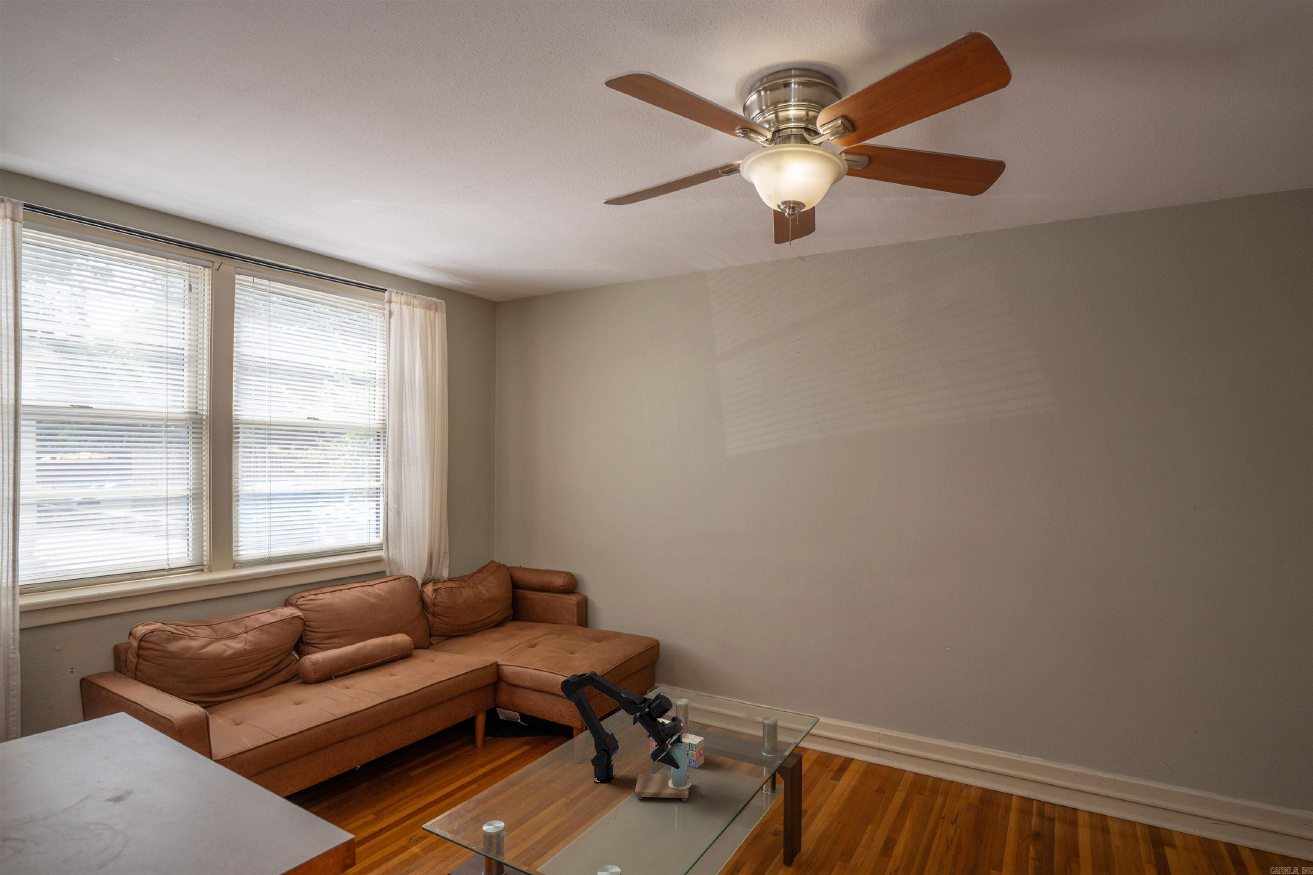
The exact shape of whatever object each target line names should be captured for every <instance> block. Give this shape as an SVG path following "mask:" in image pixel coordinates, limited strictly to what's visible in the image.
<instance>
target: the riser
mask: <svg viewBox="0 0 1313 875" xmlns="http://www.w3.org/2000/svg"><path fill="white" fill-rule="evenodd" d="M687 779H688V783H687V785H686V786H683V787H676V786H673V785H672V784H671V774H659V773H658V774H653V773H649V774H647V773H639V774H638V776H637V780H636V785H635V790H634V798H635V797H636V799H637V800H639V801H640V800H643V799H644V798H645V797H646V798H673V799H674V798H675V799H677V798H678V799H681V801H682V802H685V801H687V800H688V798H689V790H690V788H691V786H692V781H691V779H690V775H689V774H687Z"/></svg>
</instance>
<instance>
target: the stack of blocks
mask: <svg viewBox="0 0 1313 875" xmlns="http://www.w3.org/2000/svg"><path fill="white" fill-rule="evenodd" d="M658 720H659V721H660V722H662V721H664V722H665V723H666V724H667V723H669V722H670V721H671V720H667V719H663V718H661V719H658ZM681 725H682V727H683V728H682V731H681V732H683V733H682V741H683V744H685V745H686V746H687V753H688V756H687V767H690V768H693V769H698V768H699V767H700V766H702V764H703V763H705V738H704V737H702V736H697V735H694V734H691V733H687V732H685V731H684V730H685V729H684V728H685V726H684V724H682V723H681ZM681 732H680V733H681ZM680 733H679V734H680ZM648 739H649V740H648V742H649V744H648V745H649V755H651V753H652V751H653V750H654V749H655V748H656V746H655V745H656V744H657V743H656V742H655V741H654V740H653V739H652V737H650V738H648ZM670 743H671V742H669V744H670ZM669 744H668V747H669V748H671V746H670V745H669ZM669 748H668V749H669Z"/></svg>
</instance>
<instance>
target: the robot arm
mask: <svg viewBox="0 0 1313 875" xmlns="http://www.w3.org/2000/svg"><path fill="white" fill-rule="evenodd" d="M586 687H591V688H592V689H593V690H595V691H598V692H599V693H601V694H602V695H604V696H606V697H607V698H609V699H611V700H613V701H615V703H617V704H618V706H619V707H620V709H621V710H622V711H624V712H625V713H626V714H628V715H629V716H632V719H633V720H632V725H633V726H635V725H636V724H637V723H639V725H640V726H641V727H642V728H643V729H644V731H645V732H646V733H647V735H646V736H647V738H648V739H649V738H650V737H652V739H653V740H654V741H655V742H656V743H657V744H656V745H655V746H656V748H655V749H654V750H653V751H652V753H651V754H650V759H651V760H652V762H653V763H655V762H657V763H661V764H665V765H666V766H669V767H670V768H671V767H673V768H676V769H679V768H680V766H679V764H678V763H677V761H676V760H675V759H674V757H673V756H672V754H671V748H669V747H668V744H669V742H671V743H670V744H669V745H670V746H671V745H673V744H676V743H682V744H683V741H682V733H683V732H681V731H682V728H683V727H682V725H681V724H682V722H683V721H682V720H681V718H679V717H678V716H677V715H674V716H672V717H671V719H670V720H669V721H670V722H669V723H667V724H666V723H665V722H664V721H662V722H660V721H659V720H658V719H663V717H664V716H665V715H666V714H667V713H668V712H670V711H671V710H672V709H673V703H672V701H671V699H670V698H669V697H667V696H666V695H663V694H662V693H660V692H658V693H657V694H656V695H655V696H654V697H653V698H650V697H646V696H643V695H642V694H640V693H638V692H636V691H633V690H626V689H623V688H622V687H620V686H618V685H617V684H615V683H613V682H611V681H610V680H608V679H606V678H604V677H603V676H601V675H599V674H598V673H597V672H596V671H592V670H590V671H588V672H584V673H583V672H582V673H580V674H576V673H572V674H570V675H569V676H567V677H566V678H565V679H564V680H562V682H561V683H560V691H561V693H562V694H563V696H564V697H566V699H567V700H568V701H570V702H571V703H573V704H574V706H575V708H576V709H577V712H578V713H579V715H580V716H581V719H582V721H583V722H584V724H585V726H586V727H587V729H588V730H587V731H589V733H590V734H591V737H592V739H593V744H594V745H593V746H594V750H595V755H594V756H593V757H592V758H591V760H590V763H591V766H592V767H593V771H594V772H593V773H594V774H593V779H594V778H597V780H598V781H600V782H603V783H604V784H605V783H606V784H611V783H612V781H613V779H614V777H615V764H614V763H613V758H614V757H615V756H616V754H618V752H619V748H620V745H619V740H617V738H616V736H615V733H614V732H610V733H609V732H607V731H606V730H605V727H604V726H603V724H602V723H601V721H600V719H599V718H598V716H597V714H596V712H595V710H594V708H593V707H592V705H591V703H590V701H589V699H588V697H587V695H586ZM680 732H681V733H680ZM679 733H680V734H679ZM668 748H669V749H668ZM687 756H688V753H687ZM603 783H602V784H603Z"/></svg>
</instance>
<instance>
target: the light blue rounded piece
mask: <svg viewBox="0 0 1313 875" xmlns="http://www.w3.org/2000/svg"><path fill="white" fill-rule="evenodd" d="M671 754H672V756H673V757H674V759H675V760H676V761H677V763H678V764H679V766H680V768H679V769H676V768H673V767H671V766H670V772H671V773H670V775H671V784H672V785H673V786H676V787H683V786H686V785H687V783H688V779H687V775H688V766H687V746H686V745H685V744H682V743H676V744H673V745H671Z"/></svg>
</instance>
